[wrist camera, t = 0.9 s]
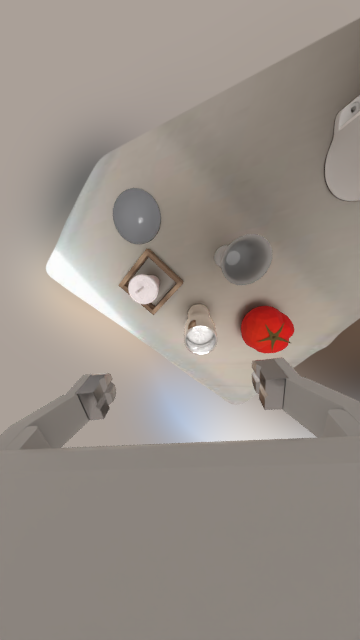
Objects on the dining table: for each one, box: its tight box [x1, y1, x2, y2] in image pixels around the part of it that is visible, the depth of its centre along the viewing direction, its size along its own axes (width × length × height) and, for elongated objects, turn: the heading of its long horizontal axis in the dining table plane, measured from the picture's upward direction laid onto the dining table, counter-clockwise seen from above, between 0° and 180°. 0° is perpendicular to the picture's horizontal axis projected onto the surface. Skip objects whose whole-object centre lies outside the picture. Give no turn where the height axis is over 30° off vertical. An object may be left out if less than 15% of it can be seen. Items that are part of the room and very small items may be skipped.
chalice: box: [214, 234, 272, 285], centre depth 33 cm, size 7×7×18 cm
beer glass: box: [184, 304, 217, 355], centre depth 40 cm, size 7×7×15 cm
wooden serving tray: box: [119, 249, 183, 315], centre depth 43 cm, size 12×12×3 cm
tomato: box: [241, 306, 294, 353], centre depth 41 cm, size 12×12×11 cm
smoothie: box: [128, 274, 160, 304], centre depth 38 cm, size 6×6×14 cm
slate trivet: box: [113, 188, 161, 244], centre depth 39 cm, size 11×11×1 cm
